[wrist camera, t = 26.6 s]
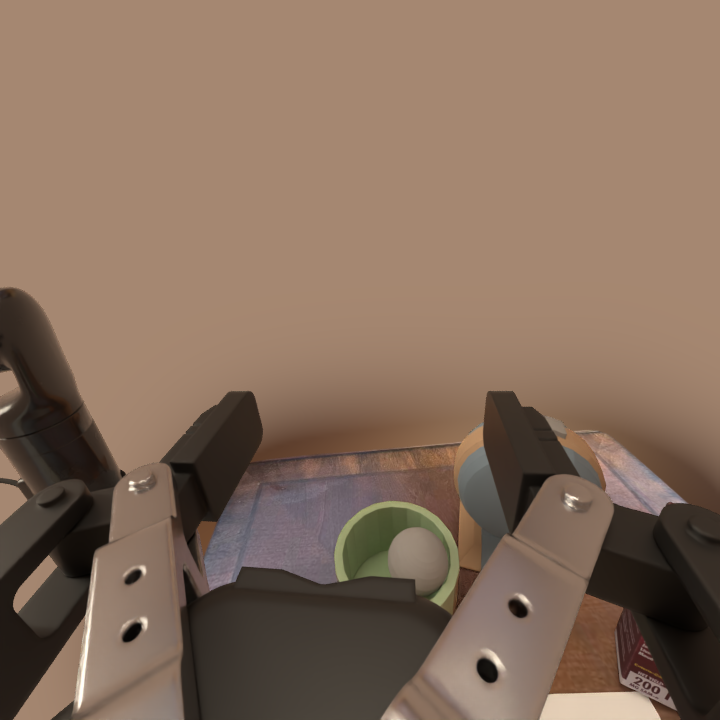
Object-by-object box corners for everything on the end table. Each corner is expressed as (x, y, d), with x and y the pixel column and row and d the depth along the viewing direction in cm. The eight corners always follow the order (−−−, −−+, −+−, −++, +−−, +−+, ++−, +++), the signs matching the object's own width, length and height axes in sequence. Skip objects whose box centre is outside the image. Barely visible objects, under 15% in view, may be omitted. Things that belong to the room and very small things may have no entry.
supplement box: (618, 687, 28) (678, 543, 23) (613, 631, 32) (663, 497, 27) (768, 763, 24) (887, 610, 19) (741, 688, 28) (832, 544, 22)
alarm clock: (569, 516, 43) (603, 398, 35) (592, 597, 35) (643, 466, 27) (452, 496, 47) (459, 386, 39) (447, 564, 39) (455, 442, 31)
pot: (349, 681, 30) (340, 634, 27) (338, 557, 41) (330, 511, 37) (474, 654, 31) (482, 604, 28) (432, 539, 42) (434, 492, 38)
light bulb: (435, 613, 35) (469, 564, 29) (388, 637, 32) (415, 589, 27) (409, 560, 38) (434, 508, 33) (365, 577, 36) (384, 525, 31)
